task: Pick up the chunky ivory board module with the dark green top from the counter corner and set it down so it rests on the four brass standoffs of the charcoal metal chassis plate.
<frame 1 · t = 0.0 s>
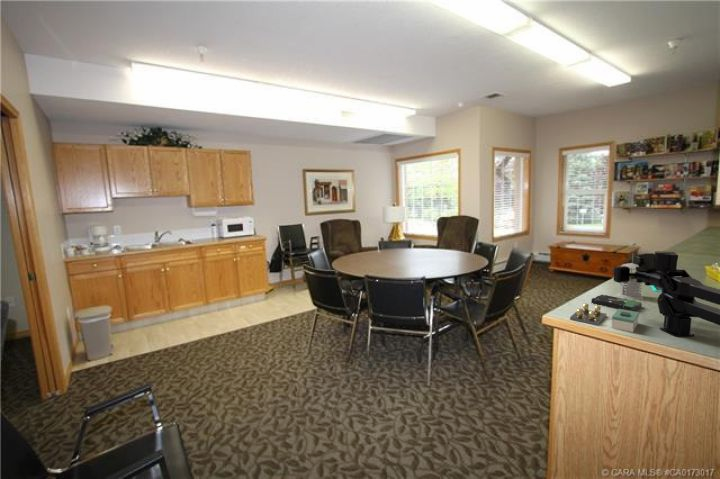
hand: (624, 269, 137), 17 cm above the countertop, tool horizontal, fingers open, 9 cm apart
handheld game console: (673, 292, 160), on the countertop
chassis: (588, 317, 130), on the countertop
board: (624, 326, 122), on the countertop
french press: (628, 296, 154), on the countertop
disk drive: (615, 306, 143), on the countertop
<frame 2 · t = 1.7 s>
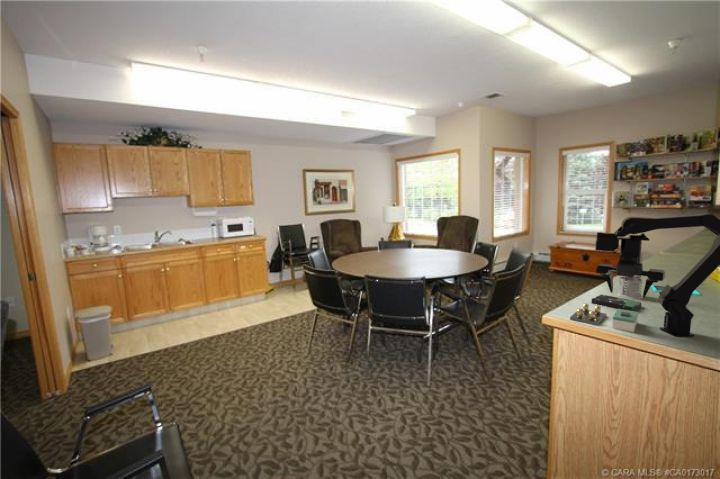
hand: (627, 295, 120), 11 cm above the countertop, tool pointing down, fingers open, 9 cm apart
nothing on the countertop moved.
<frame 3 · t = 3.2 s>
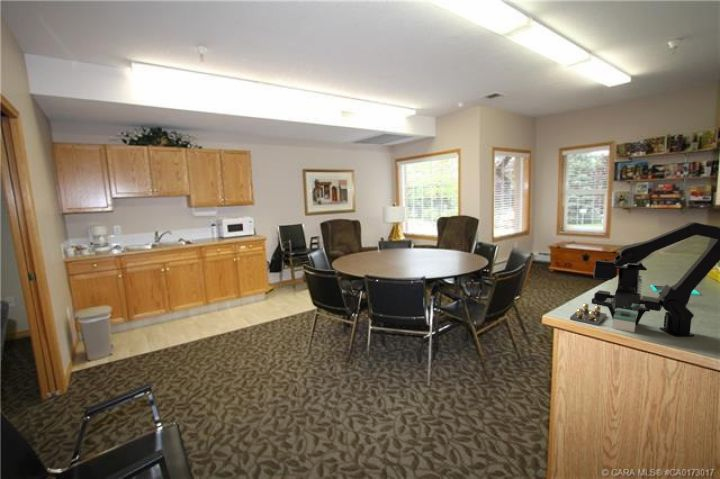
hand: (625, 322, 122), 1 cm above the countertop, tool pointing down, fingers closed on board, 6 cm apart
board: (624, 325, 122), on the countertop, touching gripper
everything else where it was.
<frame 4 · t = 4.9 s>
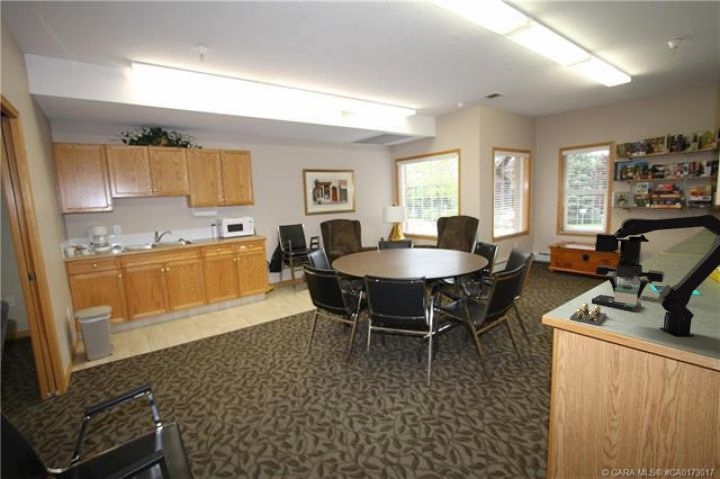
hand: (626, 296, 120), 11 cm above the countertop, tool pointing down, fingers closed on board, 6 cm apart
board: (626, 299, 120), point 10 cm above the countertop, touching gripper
everything else where it was.
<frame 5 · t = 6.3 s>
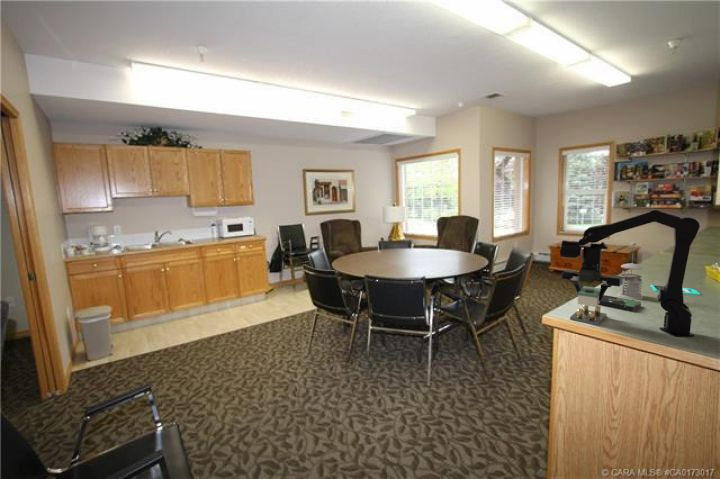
hand: (589, 299, 129), 7 cm above the countertop, tool pointing down, fingers closed on board, 6 cm apart
board: (589, 301, 129), point 6 cm above the countertop, touching gripper
everything else where it was.
when the fingers open (6 cm above the countertop, at t = 7.0 s): board stays where it is, resting on chassis.
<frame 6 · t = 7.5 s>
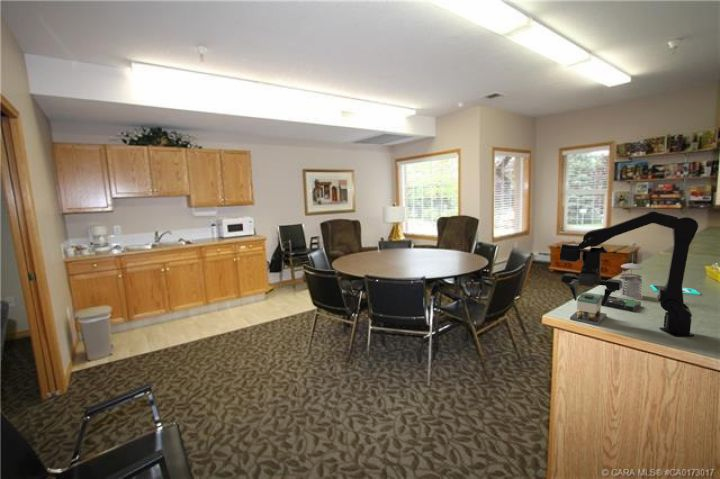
hand: (589, 302, 129), 6 cm above the countertop, tool pointing down, fingers open, 9 cm apart
board: (589, 307, 129), point 4 cm above the countertop, touching chassis
everything else where it was.
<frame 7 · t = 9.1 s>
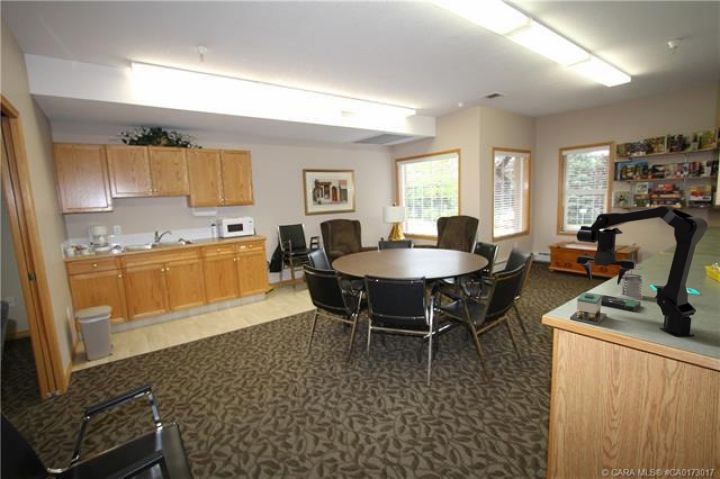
hand: (603, 282, 135), 12 cm above the countertop, tool pointing down, fingers open, 9 cm apart
nothing on the countertop moved.
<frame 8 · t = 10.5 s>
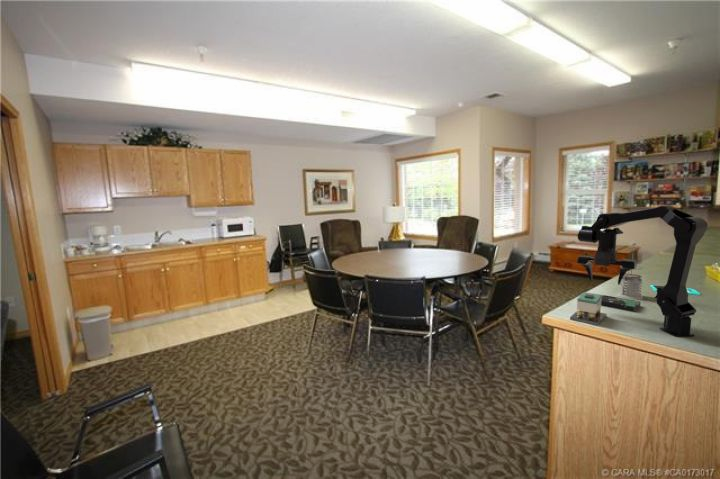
hand: (604, 282, 135), 12 cm above the countertop, tool pointing down, fingers open, 9 cm apart
nothing on the countertop moved.
at the end: board 0.1 cm off-centre on the chassis, point 4.0 cm above the chassis's base; board tilted 0°; the gripper is holding nothing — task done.
